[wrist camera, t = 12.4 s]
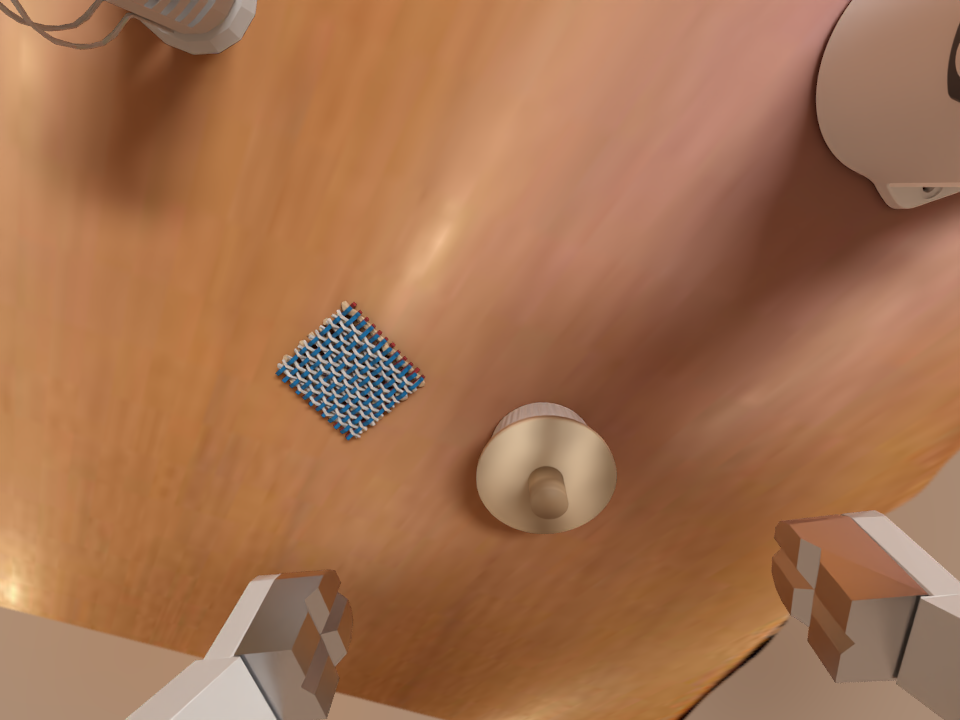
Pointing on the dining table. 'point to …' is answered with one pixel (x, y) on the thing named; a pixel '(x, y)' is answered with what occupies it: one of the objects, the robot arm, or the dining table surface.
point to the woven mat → (350, 372)
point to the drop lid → (546, 474)
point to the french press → (167, 22)
